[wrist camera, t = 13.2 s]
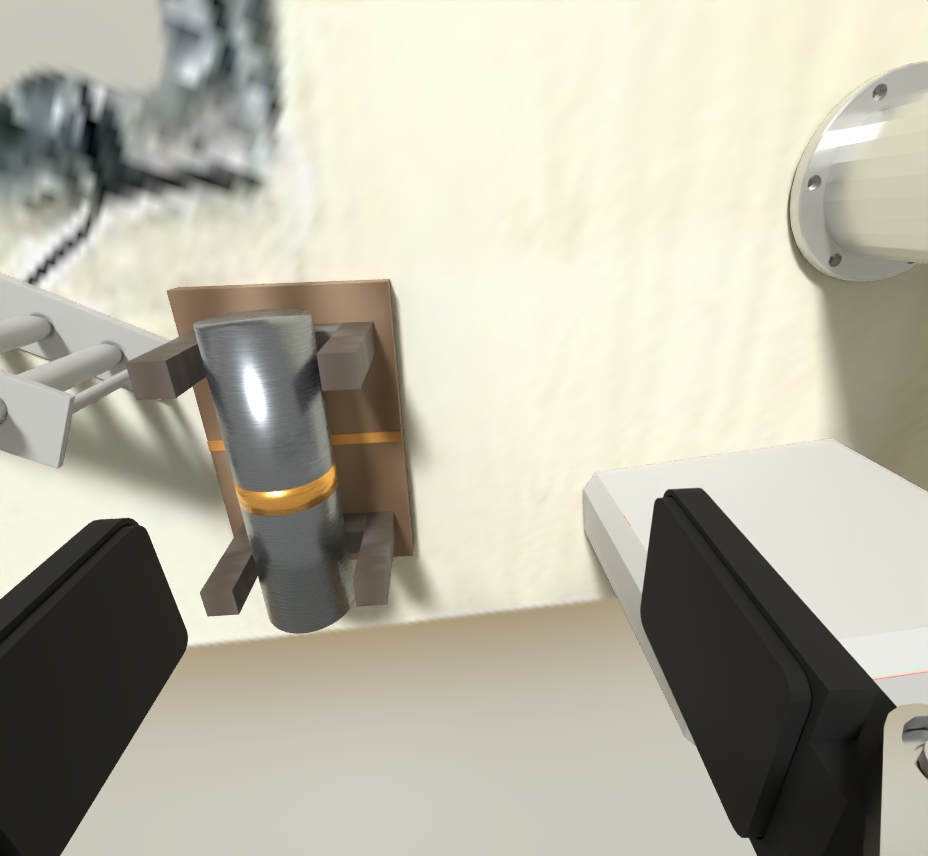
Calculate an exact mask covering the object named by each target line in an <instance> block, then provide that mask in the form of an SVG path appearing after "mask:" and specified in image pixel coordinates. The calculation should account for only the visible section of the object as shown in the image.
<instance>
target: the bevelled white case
mask: <svg viewBox="0 0 928 856" xmlns="http://www.w3.org/2000/svg"><path fill="white" fill-rule="evenodd" d="M682 488H702V489H703V490H704V491H705V492H706V493H707V494H708V495H709V496H710V497H711V498H712V499H713V501H714V502H715V503H716V504H717V505H718V506H719V507H720V508H721V510H722V511H723V512H724V513H725V514H726V515H727V516H728V517H729V519H730V520H731V521H732V522H733V523H734V524H735V525H736V526H737V528H738V529H739V530H740V531H741V532H742V533H743V534H744V535H745V537H746V538H747V539H748V540H749V541H750V542H751V543H752V544H753V546H754V547H755V548H756V549H757V550H758V551H759V552H760V553H761V555H762V556H763V557H764V558H765V559H766V560H767V561H768V562H769V564H770V565H771V566H772V567H773V568H774V569H775V570H776V571H777V572H778V574H779V575H780V576H781V577H782V578H783V579H784V580H785V581H786V583H787V584H788V585H789V586H790V587H791V588H792V589H793V590H794V592H795V593H796V594H797V595H798V596H799V597H800V598H801V599H802V601H803V602H804V603H805V604H806V605H807V606H808V607H809V608H810V610H811V611H812V612H813V613H814V614H815V615H816V616H817V617H818V618H819V620H820V621H821V622H822V623H823V624H824V625H825V626H826V627H827V629H828V630H829V631H830V632H831V633H832V634H833V635H834V636H835V638H836V639H837V640H838V641H839V642H840V643H841V644H842V645H843V647H844V648H845V649H846V650H847V651H848V652H849V653H850V654H851V656H852V657H853V658H854V659H855V660H856V661H857V662H858V663H859V665H860V666H861V667H862V668H863V669H864V670H865V671H866V672H867V674H868V675H869V676H870V677H871V678H872V679H873V680H874V681H875V683H876V684H877V685H878V686H879V687H880V688H881V689H882V690H883V692H884V693H885V694H886V695H887V696H888V697H889V698H890V699H891V701H892V702H893V703H894V704H895V705H896V706H897V707H898V706H900V705H907V704H914V703H921V704H928V492H927V491H925V490H924V489H922V488H920V487H918V486H916V485H915V484H913V483H911V482H909V481H907V480H906V479H904V478H902V477H900V476H898V475H897V474H895V473H893V472H891V471H889V470H888V469H886V468H884V467H882V466H880V465H879V464H877V463H875V462H873V461H871V460H870V459H868V458H866V457H864V456H862V455H861V454H859V453H857V452H855V451H853V450H852V449H850V448H848V447H846V446H844V445H843V444H841V443H839V442H837V441H835V440H834V439H832V438H829V439H822V440H815V441H808V442H801V443H794V444H787V445H780V446H773V447H766V448H759V449H752V450H745V451H738V452H731V453H724V454H717V455H710V456H703V457H696V458H689V459H682V460H675V461H668V462H661V463H654V464H647V465H640V466H633V467H626V468H619V469H612V470H605V471H598V472H595V474H594V475H593V476H592V478H591V479H590V480H589V482H588V483H587V484H586V486H585V487H584V488H583V492H584V524H585V532H586V534H587V536H588V538H589V541H590V543H591V545H592V547H593V549H594V551H595V553H596V555H597V557H598V559H599V561H600V563H601V565H602V567H603V569H604V571H605V574H606V576H607V578H608V580H609V582H610V584H611V586H612V588H613V590H614V592H615V594H616V596H617V598H618V600H619V602H620V604H621V606H622V609H623V610H624V613H625V615H626V617H627V619H628V621H629V623H630V625H631V627H632V629H633V631H634V633H635V635H636V637H637V640H638V641H639V644H640V646H641V648H642V650H643V652H644V654H645V656H646V658H647V660H648V662H649V664H650V666H651V668H652V670H653V673H654V675H655V676H656V678H657V681H658V683H659V685H660V687H661V689H662V691H663V693H664V695H665V697H666V699H667V701H668V704H669V706H670V708H671V710H672V712H673V714H674V716H675V718H676V720H677V722H678V724H679V726H680V728H681V730H682V732H683V734H684V737H685V738H687V739H688V740H689V741H691V742H692V743H693V744H694V745H695V743H694V740H693V738H692V736H691V734H690V731H689V729H688V727H687V725H686V723H685V720H684V718H683V716H682V714H681V711H680V709H679V707H678V705H677V703H676V700H675V698H674V696H673V694H672V691H671V689H670V687H669V685H668V682H667V680H666V678H665V676H664V674H663V671H662V669H661V667H660V665H659V662H658V660H657V658H656V656H655V654H654V651H653V649H652V647H651V645H650V642H649V640H648V638H647V636H646V634H645V631H644V629H643V626H642V622H641V617H640V606H641V598H642V590H643V583H644V575H645V568H646V560H647V553H648V545H649V538H650V530H651V523H652V515H653V507H654V502H655V500H656V499H657V498H663V496H664V493H665V492H666V491H667V490H668V489H682ZM695 746H696V745H695Z"/></svg>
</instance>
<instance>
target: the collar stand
mask: <svg viewBox="0 0 928 856" xmlns="http://www.w3.org/2000/svg"><path fill="white" fill-rule="evenodd" d="M167 294H168V297H169V301H170V305H171V308H172V312H173V316H174V319H175V323H176V327H177V330H178V334H179V337H178V338H176V339H174V340H172V341H170V342H168V343H165V344H163V345H161V346H159V347H157V348H155V349H153V350H151V351H149V352H146V353H144V354H142V355H140V356H138V357H136V358H134V359H132V360H130V361H127V362H125V365H126V368H127V371H128V374H129V377H130V380H131V383H132V386H133V389H134V393H135V396H136V399H137V400H143V399H164V398H177V397H178V396H179V395H181V394H182V393H184V392H185V391H187V390H188V389H189V388H191V387H192V386H193V389H194V393H195V396H196V400H197V404H198V407H199V411H200V415H201V418H202V422H203V426H204V429H205V433H206V437H207V440H208V441H207V443H208V447H209V450H210V452H211V455H212V458H213V462H214V466H215V469H216V473H217V477H218V480H219V484H220V488H221V491H222V495H223V499H224V502H225V506H226V510H227V513H228V517H229V521H230V524H231V528H232V532H233V535H234V538H233V540H232V542H231V543H230V545H229V546H228V548H227V550H226V551H225V553H224V554H223V556H222V558H221V559H220V561H219V563H218V564H217V566H216V567H215V569H214V571H213V572H212V574H211V575H210V577H209V579H208V580H207V582H206V584H205V585H204V587H203V588H202V590H201V592H200V595H201V598H202V601H203V604H204V607H205V610H206V613H207V616H222V615H237V614H239V613H240V611H241V609H242V607H243V605H244V603H245V601H246V599H247V597H248V595H249V593H250V591H251V589H252V587H253V585H254V583H255V581H256V578H257V576H258V574H257V570H256V566H255V562H254V558H253V554H252V550H251V547H250V543H249V539H248V535H247V531H246V527H245V523H244V520H243V516H242V512H241V508H240V505H239V502H238V498H237V494H236V490H235V486H234V482H233V477H232V473H231V469H230V465H229V462H228V458H227V454H226V450H225V446H224V442H223V438H222V435H221V431H220V427H219V423H218V419H217V415H216V411H215V408H214V404H213V400H212V396H211V392H210V388H209V384H208V380H207V377H206V373H205V369H204V365H203V361H202V357H201V353H200V350H199V346H198V342H197V338H196V334H195V330H194V326H193V324H194V323H195V322H197V321H199V320H202V319H205V318H208V317H212V316H217V315H221V314H227V313H233V312H240V311H249V310H260V309H300V310H306V311H309V312H311V314H312V320H313V326H314V333H315V339H316V345H317V352H318V353H317V360H318V367H319V373H320V379H321V386H322V391H324V396H325V402H326V409H327V415H328V421H329V428H330V434H331V440H332V447H333V453H334V458H335V464H336V470H337V476H338V485H339V491H340V498H341V504H342V510H343V517H344V523H345V529H346V536H347V542H348V548H349V555H350V559H358V561H357V566H356V570H355V575H354V579H353V587H354V593H355V600H356V606H370V605H385V604H387V601H388V593H389V584H390V576H391V567H392V559H393V557H398V556H413V534H412V523H411V512H410V501H409V490H408V479H407V468H406V457H405V445H404V434H403V423H402V412H401V401H400V390H399V379H398V368H397V357H396V345H395V334H394V323H393V312H392V301H391V290H390V279H382V280H356V281H331V282H305V283H280V284H254V285H228V286H203V287H178V288H174V289H171V290H167Z"/></svg>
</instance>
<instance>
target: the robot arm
mask: <svg viewBox="0 0 928 856" xmlns="http://www.w3.org/2000/svg"><path fill="white" fill-rule="evenodd" d="M790 217H791V228H792V231H793V235H794V238H795V241H796V244H797V246H798V248H799V249H800V251H801V253H802V255H803V256H804V258H805V259H806V260H807V261H808V262H809V263H810V264H811V265H812V266H813V267H814V268H816V269H817V270H819V271H821V272H822V273H824V274H826V275H828V276H831V277H834V278H838V279H841V280H849V281H856V282H865V281H877V280H881V279H886V278H890V277H893V276H895V275H898V274H900V273H903V272H905V271H907V270H910V269H911V268H913V267H915V266H916V265H918V264H920V263H926V264H928V61H924V62H917V63H911V64H907V65H904V66H901V67H898V68H895V69H891V70H889V71H887V72H884V73H882V74H880V75H878V76H876V77H874V78H871V79H869V80H868V81H867V82H865V83H864V84H862V85H861V86H859V87H858V88H856V89H855V90H853V91H852V92H851V93H849V94H848V95H847V96H846V97H845V98H844V99H843V100H842V101H841V102H840V103H839V104H838V105H837V106H836V107H834V108H833V110H832V111H831V112H830V113H829V115H828V116H827V117H826V118H825V119H824V121H823V122H822V123H821V124H820V126H819V127H818V128H817V130H816V132H815V133H814V135H813V137H812V138H811V140H810V142H809V143H808V145H807V147H806V149H805V151H804V153H803V156H802V158H801V160H800V163H799V165H798V167H797V171H796V175H795V178H794V182H793V186H792V191H791V201H790ZM640 617H641V622H642V626H643V629H644V631H645V634H646V636H647V638H648V640H649V642H650V645H651V647H652V649H653V651H654V654H655V656H656V658H657V660H658V662H659V665H660V667H661V669H662V671H663V674H664V676H665V678H666V680H667V682H668V685H669V687H670V689H671V691H672V694H673V696H674V698H675V700H676V703H677V705H678V707H679V709H680V711H681V714H682V716H683V718H684V720H685V723H686V725H687V727H688V729H689V731H690V734H691V736H692V738H693V740H694V743H695V745H696V747H697V749H698V751H699V754H700V756H701V758H702V760H703V763H704V765H705V767H706V769H707V771H708V774H709V776H710V778H711V780H712V783H713V785H714V787H715V789H716V791H717V793H718V796H719V798H720V800H721V803H722V805H723V807H724V809H725V811H726V813H727V816H728V818H729V820H730V822H731V824H732V826H733V828H734V830H735V831H736V832H737V834H738V835H739V836H740V837H742V838H749V839H750V841H751V843H752V846H753V848H754V850H755V852H756V854H757V856H928V704H921V703H914V704H907V705H900V706H898V707H897V706H896V705H895V704H894V703H893V702H892V701H891V699H890V698H889V697H888V696H887V695H886V694H885V693H884V692H883V690H882V689H881V688H880V687H879V686H878V685H877V684H876V683H875V681H874V680H873V679H872V678H871V677H870V676H869V675H868V674H867V672H866V671H865V670H864V669H863V668H862V667H861V666H860V665H859V663H858V662H857V661H856V660H855V659H854V658H853V657H852V656H851V654H850V653H849V652H848V651H847V650H846V649H845V648H844V647H843V645H842V644H841V643H840V642H839V641H838V640H837V639H836V638H835V636H834V635H833V634H832V633H831V632H830V631H829V630H828V629H827V627H826V626H825V625H824V624H823V623H822V622H821V621H820V620H819V618H818V617H817V616H816V615H815V614H814V613H813V612H812V611H811V610H810V608H809V607H808V606H807V605H806V604H805V603H804V602H803V601H802V599H801V598H800V597H799V596H798V595H797V594H796V593H795V592H794V590H793V589H792V588H791V587H790V586H789V585H788V584H787V583H786V581H785V580H784V579H783V578H782V577H781V576H780V575H779V574H778V572H777V571H776V570H775V569H774V568H773V567H772V566H771V565H770V564H769V562H768V561H767V560H766V559H765V558H764V557H763V556H762V555H761V553H760V552H759V551H758V550H757V549H756V548H755V547H754V546H753V544H752V543H751V542H750V541H749V540H748V539H747V538H746V537H745V535H744V534H743V533H742V532H741V531H740V530H739V529H738V528H737V526H736V525H735V524H734V523H733V522H732V521H731V520H730V519H729V517H728V516H727V515H726V514H725V513H724V512H723V511H722V510H721V508H720V507H719V506H718V505H717V504H716V503H715V502H714V501H713V499H712V498H711V497H710V496H709V495H708V494H707V493H706V492H705V491H704V490H703V489H702V488H682V489H668V490H667V491H666V492H665V493H664V496H663V498H657V499H656V500H655V502H654V507H653V515H652V523H651V530H650V538H649V545H648V553H647V560H646V568H645V575H644V583H643V590H642V598H641V606H640ZM187 642H188V634H187V630H186V628H185V625H184V623H183V620H182V618H181V615H180V613H179V610H178V608H177V605H176V602H175V600H174V597H173V595H172V592H171V590H170V587H169V585H168V582H167V580H166V577H165V575H164V572H163V570H162V567H161V565H160V562H159V560H158V557H157V555H156V552H155V549H154V547H153V544H152V542H151V539H150V537H149V534H148V532H147V530H146V529H145V528H144V527H143V526H139V525H138V523H137V522H136V521H135V520H133V519H130V518H120V519H101V520H95V521H93V522H91V523H89V524H88V525H87V526H85V527H84V528H83V529H82V530H81V531H80V532H78V533H77V534H76V535H75V536H74V537H73V538H71V539H70V540H69V541H68V542H67V543H66V544H64V545H63V546H62V547H61V548H60V549H59V550H57V551H56V552H55V553H54V554H53V555H52V556H50V557H49V558H48V559H47V560H46V561H45V562H43V563H42V564H41V565H40V566H39V567H38V568H36V569H35V570H34V571H33V572H32V573H31V574H29V575H28V576H27V577H26V578H25V579H24V580H22V581H21V582H20V583H19V584H18V585H17V586H15V587H14V588H13V589H12V590H11V591H10V592H8V593H7V594H6V595H5V596H4V597H3V598H1V599H0V856H60V855H61V854H62V852H63V850H64V848H65V847H66V845H67V844H68V842H69V840H70V838H71V837H72V835H73V834H74V832H75V831H76V829H77V827H78V826H79V824H80V822H81V821H82V819H83V818H84V816H85V814H86V813H87V811H88V809H89V808H90V806H91V805H92V803H93V801H94V800H95V798H96V796H97V795H98V793H99V791H100V790H101V788H102V786H103V785H104V783H105V782H106V780H107V778H108V777H109V775H110V773H111V772H112V770H113V769H114V767H115V765H116V764H117V762H118V760H119V759H120V757H121V755H122V754H123V752H124V750H125V749H126V747H127V746H128V744H129V742H130V741H131V739H132V738H133V736H134V734H135V732H136V731H137V729H138V728H139V726H140V724H141V723H142V721H143V719H144V718H145V716H146V715H147V713H148V711H149V710H150V708H151V706H152V705H153V703H154V701H155V700H156V698H157V697H158V695H159V693H160V692H161V690H162V688H163V687H164V685H165V684H166V682H167V680H168V679H169V677H170V675H171V674H172V672H173V670H174V669H175V667H176V665H177V664H178V662H179V661H180V659H181V657H182V656H183V654H184V652H185V650H186V647H187Z"/></svg>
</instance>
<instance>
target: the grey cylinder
mask: <svg viewBox="0 0 928 856" xmlns="http://www.w3.org/2000/svg"><path fill="white" fill-rule="evenodd" d="M193 326H194V330H195V334H196V338H197V342H198V346H199V350H200V353H201V357H202V361H203V365H204V369H205V373H206V377H207V380H208V384H209V388H210V392H211V396H212V400H213V404H214V408H215V411H216V415H217V419H218V423H219V427H220V431H221V435H222V438H223V442H224V446H225V450H226V454H227V458H228V462H229V465H230V469H231V473H232V477H233V482H234V486H235V490H236V494H237V498H238V502H239V505H240V508H241V512H242V516H243V520H244V523H245V527H246V531H247V535H248V539H249V543H250V547H251V550H252V554H253V558H254V562H255V566H256V570H257V574H258V578H259V581H260V585H261V589H262V593H263V597H264V601H265V605H266V608H267V612H268V616H269V619H270V621H271V623H272V624H273V625H274V626H275V627H276V628H278V629H280V630H282V631H285V632H289V633H309V632H313V631H317V630H320V629H323V628H325V627H327V626H329V625H331V624H333V623H334V622H336V621H338V620H339V619H340V618H341V617H343V616H344V615H345V614H346V613H347V611H348V610H349V609H350V607H351V606H352V604H353V602H354V598H355V593H354V587H353V574H352V567H351V561H350V555H349V548H348V542H347V536H346V529H345V523H344V517H343V510H342V504H341V498H340V491H339V485H338V476H337V470H336V464H335V458H334V453H333V447H332V440H331V434H330V428H329V421H328V415H327V409H326V402H325V396H324V391H322V386H321V379H320V373H319V367H318V360H317V353H318V352H317V345H316V339H315V333H314V326H313V320H312V314H311V312H309V311H306V310H300V309H260V310H249V311H240V312H233V313H227V314H221V315H217V316H212V317H208V318H205V319H202V320H199V321H197V322H195V323H194V324H193Z"/></svg>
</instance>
